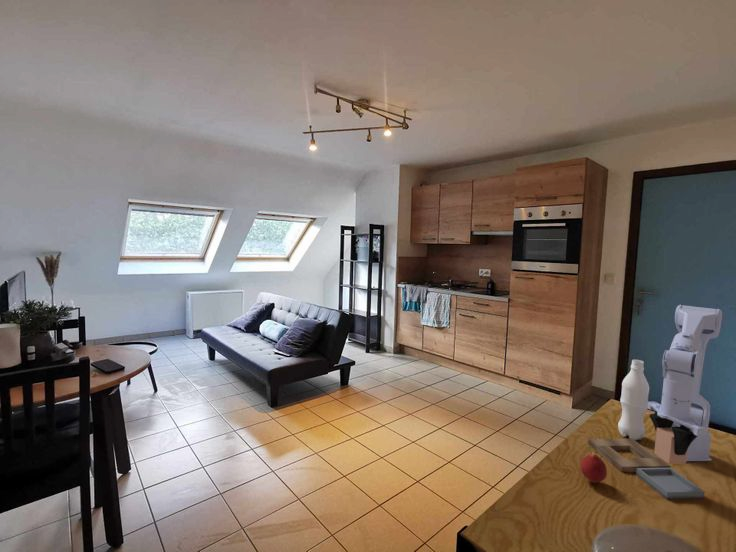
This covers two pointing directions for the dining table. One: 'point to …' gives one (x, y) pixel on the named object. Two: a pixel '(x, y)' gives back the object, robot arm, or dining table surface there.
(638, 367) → the water bottle
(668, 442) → the block
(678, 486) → the tray
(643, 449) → the board
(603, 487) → the dining table surface
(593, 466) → the red pomegranate
